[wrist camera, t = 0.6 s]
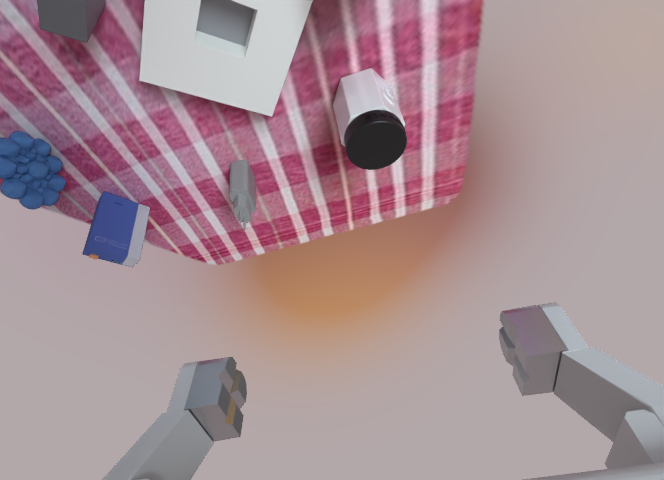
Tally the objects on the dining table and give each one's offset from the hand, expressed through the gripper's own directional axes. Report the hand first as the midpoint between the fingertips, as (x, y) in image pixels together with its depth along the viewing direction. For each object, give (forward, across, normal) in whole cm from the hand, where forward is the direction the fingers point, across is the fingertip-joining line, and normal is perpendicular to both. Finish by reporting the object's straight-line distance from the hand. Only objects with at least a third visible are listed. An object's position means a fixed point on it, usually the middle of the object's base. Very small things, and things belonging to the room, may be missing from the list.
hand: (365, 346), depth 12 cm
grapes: (+50, +45, +5) cm, 68 cm away
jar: (+54, -3, +10) cm, 55 cm away
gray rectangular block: (+46, +25, -12) cm, 54 cm away
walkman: (+55, +41, +20) cm, 71 cm away
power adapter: (+56, +19, +19) cm, 62 cm away
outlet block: (+48, +11, -5) cm, 50 cm away
